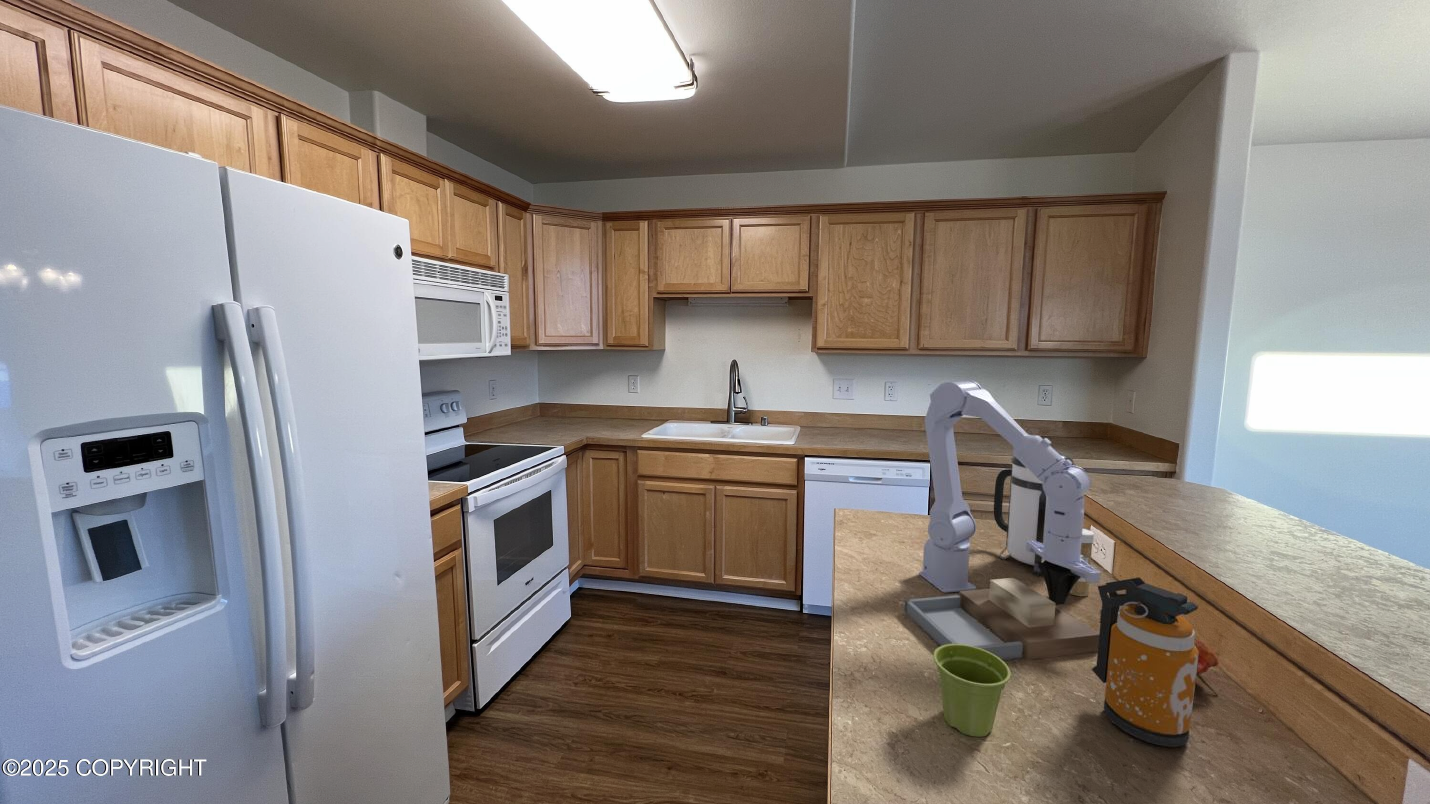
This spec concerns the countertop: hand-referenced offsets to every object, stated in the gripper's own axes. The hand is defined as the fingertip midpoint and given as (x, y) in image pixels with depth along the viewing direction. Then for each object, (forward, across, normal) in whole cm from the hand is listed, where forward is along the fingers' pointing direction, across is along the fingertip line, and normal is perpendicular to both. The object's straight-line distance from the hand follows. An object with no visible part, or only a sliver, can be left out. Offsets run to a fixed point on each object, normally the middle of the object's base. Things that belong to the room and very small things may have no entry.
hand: (1057, 602), depth 97 cm
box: (+4, 0, +20) cm, 20 cm away
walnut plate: (+4, 0, +7) cm, 8 cm away
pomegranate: (+4, -18, -6) cm, 20 cm away
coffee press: (+4, +25, -16) cm, 30 cm away
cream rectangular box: (+1, 0, +8) cm, 8 cm away
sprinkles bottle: (+4, +10, -14) cm, 18 cm away
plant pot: (+4, -20, +33) cm, 39 cm away
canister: (+4, -24, +10) cm, 26 cm away
